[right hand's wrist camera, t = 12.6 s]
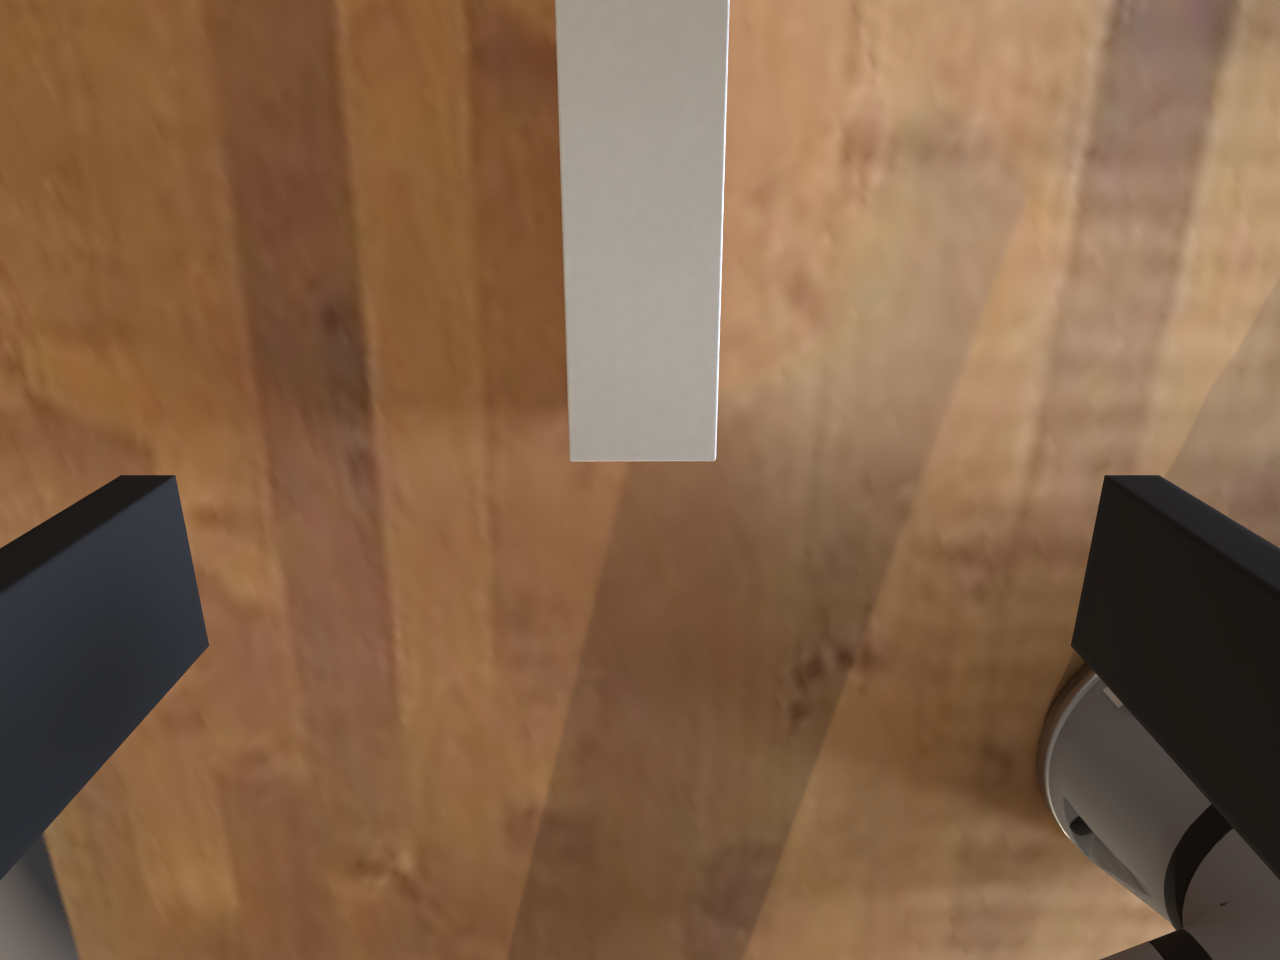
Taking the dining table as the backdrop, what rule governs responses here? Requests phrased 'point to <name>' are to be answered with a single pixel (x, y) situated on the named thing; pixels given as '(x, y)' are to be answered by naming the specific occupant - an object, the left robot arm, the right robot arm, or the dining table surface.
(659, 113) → the bar
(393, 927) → the dining table surface
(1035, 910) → the dining table surface
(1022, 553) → the dining table surface
